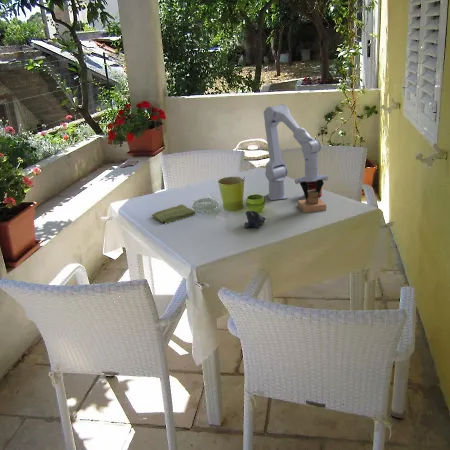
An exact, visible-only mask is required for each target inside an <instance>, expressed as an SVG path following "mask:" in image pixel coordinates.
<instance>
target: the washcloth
mask: <svg viewBox="0 0 450 450" xmlns="http://www.w3.org/2000/svg"><path fill="white" fill-rule="evenodd" d="M193 215H196V210H194V209H191V208H190V207H188V206H186V205H185V204H178V205H177V206H172V207H169V208H166V209H163V210H160V211H155V212H154V213H153V214H151V217H152V216H153V217H154V218H153V217H152V218H153V219H156V221H159V222H161V223H164V222H165V223H167V224H170V223H169V222H171V223H173V222H172V221H174V222H176V220H177V221H180V220H184V219H187V218H190V217H193ZM189 216H190V217H189ZM186 217H187V218H186ZM183 218H184V219H183ZM179 219H180V220H179ZM165 223H164V224H165Z"/></svg>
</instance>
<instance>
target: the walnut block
mask: <svg viewBox="0 0 450 450" xmlns="http://www.w3.org/2000/svg"><path fill="white" fill-rule="evenodd" d="M307 193H308V198H307V199H306V198H305V200H306V202H307V203H308V204H314V203H318V192H317V191H316V190H307Z"/></svg>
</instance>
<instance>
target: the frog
mask: <svg viewBox="0 0 450 450" xmlns="http://www.w3.org/2000/svg"><path fill="white" fill-rule="evenodd" d="M245 215H246V219H247V221H245V222H244V228H246V229H248V228H250V227H252V228H259V227H262V226H263V225H264V224H265V223H266V221H265V220H266V218H265V217H263V216H262V215H261V214H259V212H258V211H256V210H254V211H251V210H247V211H246V212H245Z"/></svg>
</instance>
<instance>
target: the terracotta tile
mask: <svg viewBox="0 0 450 450" xmlns="http://www.w3.org/2000/svg"><path fill="white" fill-rule="evenodd" d="M297 206H298V207H299V208H300V209H301V211H302V212H303V213H304V214H305V213H311V212H312V213H314V212H321V211H326V210H327V204H326V203H325V202H324V201H323V200H322V199H321V197H319V198H318V203H314V204H308V203H307V202H306V199H300V200H297Z"/></svg>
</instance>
